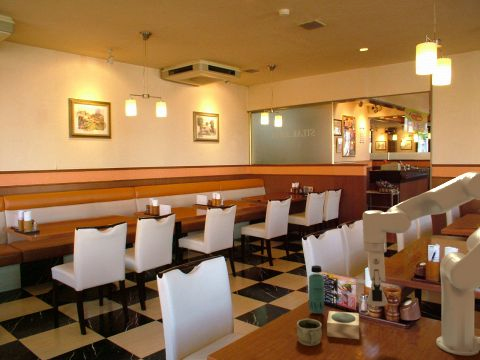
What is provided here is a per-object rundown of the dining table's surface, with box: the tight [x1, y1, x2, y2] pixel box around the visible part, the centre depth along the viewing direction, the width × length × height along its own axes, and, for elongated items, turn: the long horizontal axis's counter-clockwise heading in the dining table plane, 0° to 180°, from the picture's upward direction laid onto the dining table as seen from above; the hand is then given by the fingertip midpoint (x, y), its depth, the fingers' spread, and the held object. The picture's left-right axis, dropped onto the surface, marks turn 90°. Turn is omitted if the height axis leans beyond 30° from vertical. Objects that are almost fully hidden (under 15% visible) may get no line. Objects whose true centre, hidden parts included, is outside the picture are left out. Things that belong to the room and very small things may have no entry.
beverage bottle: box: [308, 264, 326, 314], centre depth 162 cm, size 6×7×20 cm
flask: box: [365, 278, 389, 307], centre depth 137 cm, size 7×7×10 cm
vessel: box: [296, 318, 323, 347], centre depth 139 cm, size 12×9×6 cm
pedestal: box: [326, 310, 360, 340], centre depth 146 cm, size 11×11×5 cm
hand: (376, 297), depth 137 cm, fingers closed on flask, 4 cm apart
